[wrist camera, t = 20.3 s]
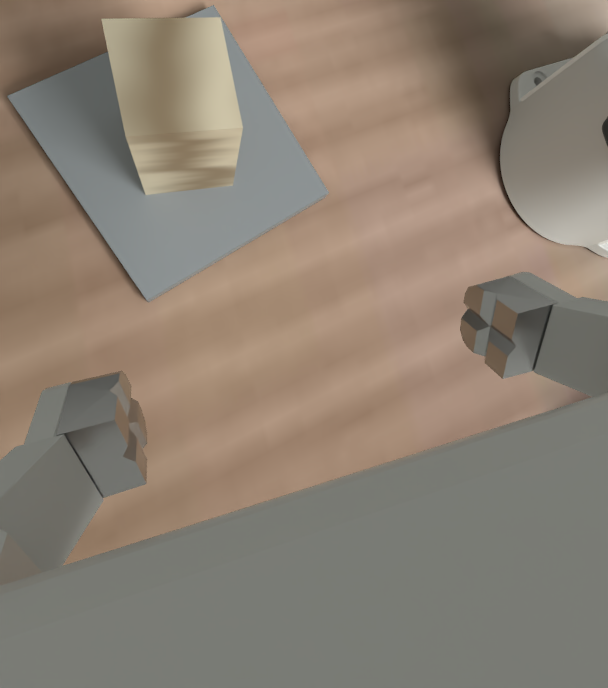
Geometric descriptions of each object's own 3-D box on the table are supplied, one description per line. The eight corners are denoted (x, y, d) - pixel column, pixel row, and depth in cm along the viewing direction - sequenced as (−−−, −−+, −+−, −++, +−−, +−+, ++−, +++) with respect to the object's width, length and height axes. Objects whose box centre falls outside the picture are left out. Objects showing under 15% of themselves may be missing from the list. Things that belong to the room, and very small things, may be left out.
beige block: (216, 102, 31) (220, 17, 23) (232, 185, 31) (243, 127, 23) (127, 108, 30) (101, 18, 22) (145, 194, 30) (125, 136, 22)
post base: (213, 15, 32) (215, -63, 26) (325, 197, 34) (351, 162, 28) (13, 104, 29) (-37, 37, 23) (148, 302, 30) (135, 288, 24)
